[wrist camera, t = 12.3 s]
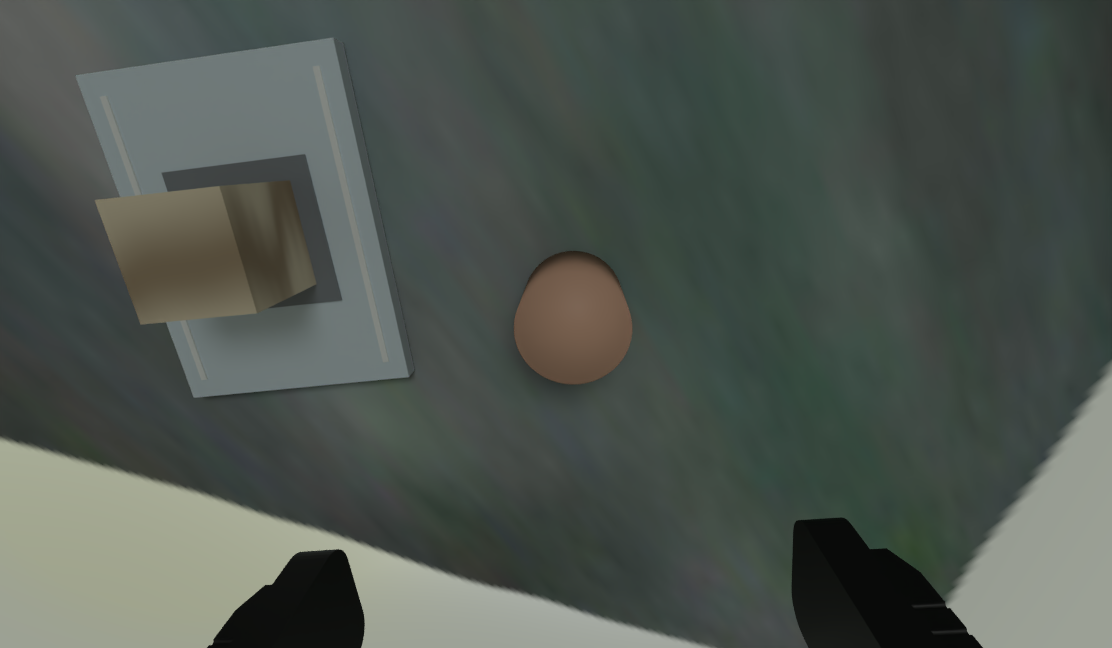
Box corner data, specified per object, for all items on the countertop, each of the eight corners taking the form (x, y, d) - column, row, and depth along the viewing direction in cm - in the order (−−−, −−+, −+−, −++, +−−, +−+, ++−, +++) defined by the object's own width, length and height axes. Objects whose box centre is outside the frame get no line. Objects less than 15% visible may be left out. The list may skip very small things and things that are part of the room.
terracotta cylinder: (518, 256, 26) (505, 278, 21) (618, 245, 25) (627, 265, 21) (531, 348, 27) (522, 389, 23) (625, 339, 27) (636, 378, 22)
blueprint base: (95, 78, 24) (73, 74, 23) (343, 42, 23) (332, 37, 22) (206, 389, 29) (192, 398, 28) (414, 369, 28) (408, 377, 27)
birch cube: (188, 191, 24) (94, 200, 20) (290, 180, 24) (219, 186, 19) (221, 293, 26) (140, 324, 21) (316, 284, 25) (257, 313, 21)
